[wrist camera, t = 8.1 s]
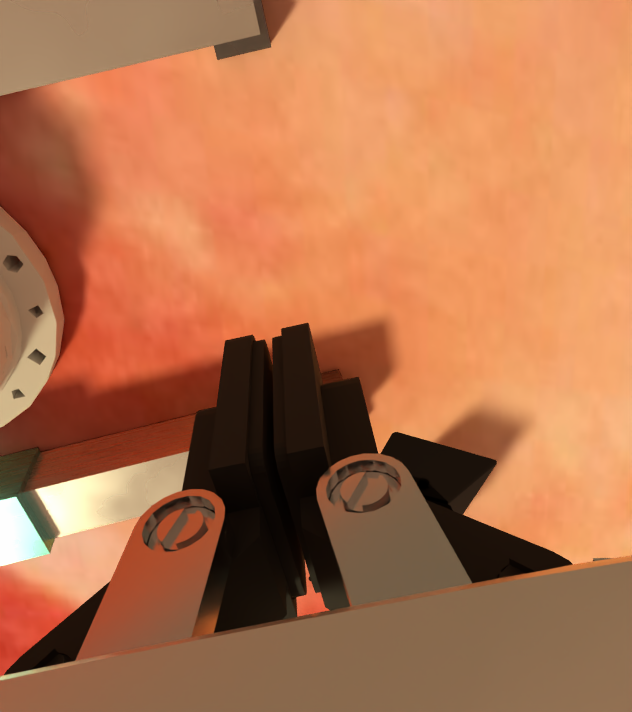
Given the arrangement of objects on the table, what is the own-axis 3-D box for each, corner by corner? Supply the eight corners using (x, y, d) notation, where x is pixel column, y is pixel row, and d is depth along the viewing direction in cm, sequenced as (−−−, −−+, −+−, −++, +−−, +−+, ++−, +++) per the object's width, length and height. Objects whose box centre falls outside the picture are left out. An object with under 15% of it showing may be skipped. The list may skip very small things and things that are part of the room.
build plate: (390, 388, 26) (421, 453, 22) (529, 433, 28) (580, 500, 24) (280, 589, 30) (288, 673, 26) (405, 614, 33) (430, 696, 29)
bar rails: (241, -80, 17) (245, -100, 14) (352, 432, 26) (366, 476, 23) (-424, 74, 16) (-542, 82, 14) (-80, 540, 25) (-113, 597, 23)
